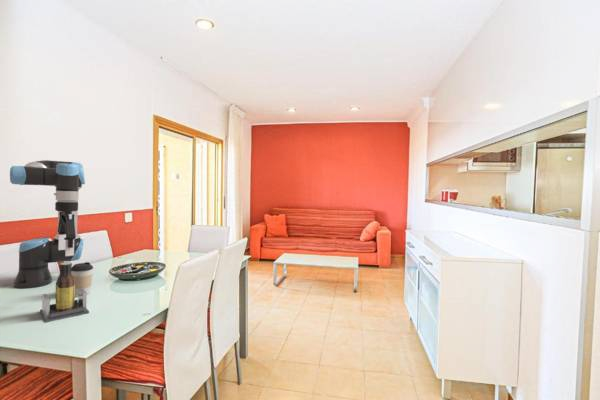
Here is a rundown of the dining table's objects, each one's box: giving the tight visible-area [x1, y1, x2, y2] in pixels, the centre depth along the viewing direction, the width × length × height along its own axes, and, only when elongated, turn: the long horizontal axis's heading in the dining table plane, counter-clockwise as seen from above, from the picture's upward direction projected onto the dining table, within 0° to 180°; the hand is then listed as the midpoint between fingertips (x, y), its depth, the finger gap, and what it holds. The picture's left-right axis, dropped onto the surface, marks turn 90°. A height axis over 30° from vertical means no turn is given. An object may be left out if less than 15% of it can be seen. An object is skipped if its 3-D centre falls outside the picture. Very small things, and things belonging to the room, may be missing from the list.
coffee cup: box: [71, 262, 94, 298], centre depth 150 cm, size 9×9×15 cm
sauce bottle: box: [55, 261, 76, 312], centre depth 129 cm, size 6×6×20 cm
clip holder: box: [39, 288, 90, 323], centre depth 129 cm, size 14×14×8 cm
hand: (65, 252), depth 129 cm, fingers open, 13 cm apart
